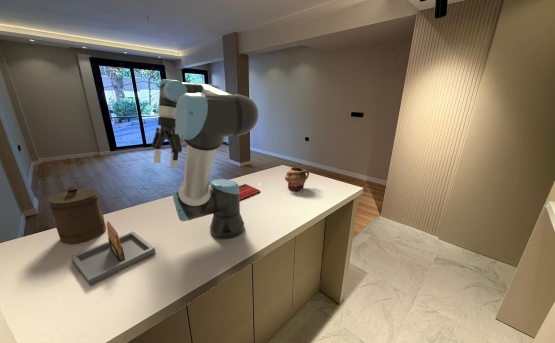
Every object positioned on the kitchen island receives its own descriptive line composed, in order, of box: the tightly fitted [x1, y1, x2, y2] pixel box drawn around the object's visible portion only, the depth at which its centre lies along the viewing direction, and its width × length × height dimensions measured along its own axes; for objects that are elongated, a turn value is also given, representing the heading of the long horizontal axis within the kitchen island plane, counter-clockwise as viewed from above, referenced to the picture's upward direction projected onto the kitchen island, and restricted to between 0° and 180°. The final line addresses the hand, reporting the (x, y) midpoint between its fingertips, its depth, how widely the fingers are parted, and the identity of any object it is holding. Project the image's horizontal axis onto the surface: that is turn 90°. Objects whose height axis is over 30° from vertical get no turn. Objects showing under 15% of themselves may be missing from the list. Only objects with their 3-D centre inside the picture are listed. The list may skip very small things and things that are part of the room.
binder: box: [239, 183, 261, 202], centre depth 140 cm, size 16×2×21 cm
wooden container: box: [48, 185, 107, 245], centre depth 91 cm, size 15×15×22 cm
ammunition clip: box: [106, 220, 125, 261], centre depth 80 cm, size 11×2×12 cm, turn 49°
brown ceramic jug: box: [284, 167, 310, 191], centre depth 149 cm, size 20×12×14 cm, turn 130°
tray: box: [70, 231, 156, 287], centre depth 81 cm, size 18×20×2 cm
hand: (165, 165), depth 99 cm, fingers open, 13 cm apart
